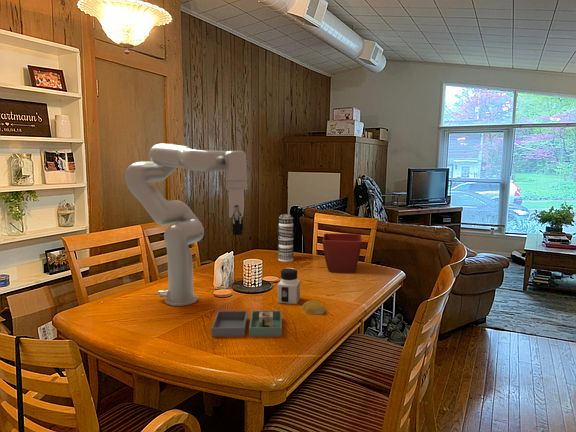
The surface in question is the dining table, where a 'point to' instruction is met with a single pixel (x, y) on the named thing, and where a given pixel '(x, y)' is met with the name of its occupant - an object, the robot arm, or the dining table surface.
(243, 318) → the charcoal bin
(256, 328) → the green-grey bin
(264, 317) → the letter cube
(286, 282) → the container
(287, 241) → the decorative candle
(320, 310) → the bread roll
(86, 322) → the dining table surface
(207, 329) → the dining table surface
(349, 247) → the plant pot
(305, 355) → the dining table surface
